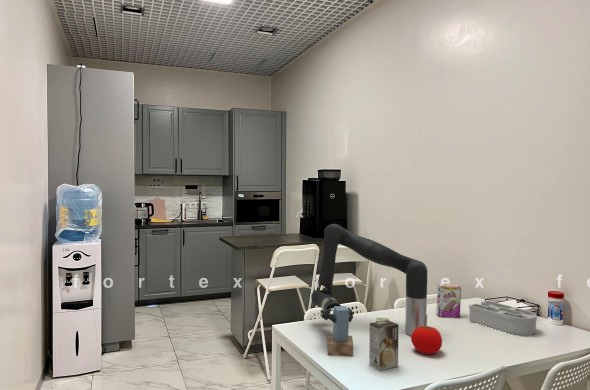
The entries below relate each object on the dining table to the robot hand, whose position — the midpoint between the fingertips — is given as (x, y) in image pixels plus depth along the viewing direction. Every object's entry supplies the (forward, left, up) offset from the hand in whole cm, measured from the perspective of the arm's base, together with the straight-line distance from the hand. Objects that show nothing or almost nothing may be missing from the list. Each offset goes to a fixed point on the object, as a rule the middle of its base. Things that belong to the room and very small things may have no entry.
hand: (342, 320), depth 170 cm
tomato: (-34, -8, -14) cm, 38 cm away
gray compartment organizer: (-76, -48, -14) cm, 91 cm away
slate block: (+1, -2, -9) cm, 9 cm away
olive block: (-16, -5, -13) cm, 22 cm away
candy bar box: (-52, -59, -14) cm, 80 cm away
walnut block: (+1, -2, -14) cm, 14 cm away
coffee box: (-16, +9, -14) cm, 23 cm away
